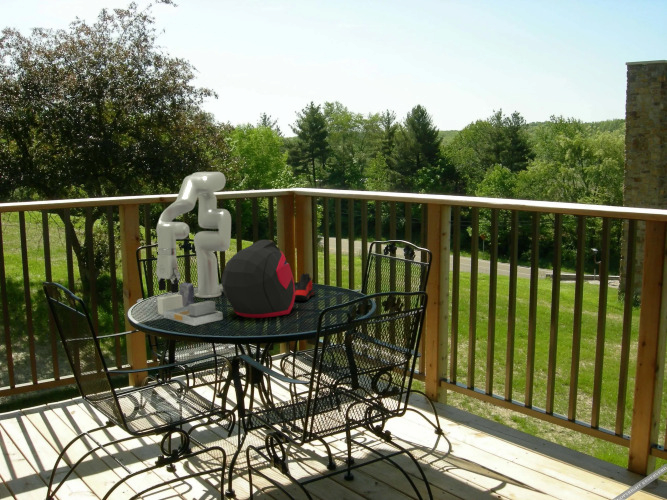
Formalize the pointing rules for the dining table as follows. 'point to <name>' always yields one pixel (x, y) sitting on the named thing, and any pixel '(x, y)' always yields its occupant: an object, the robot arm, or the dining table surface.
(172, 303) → the off-white rectangular block
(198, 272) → the robot arm
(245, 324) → the dining table surface
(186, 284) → the rock
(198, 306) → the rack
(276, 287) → the helmet
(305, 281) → the athletic shoe
